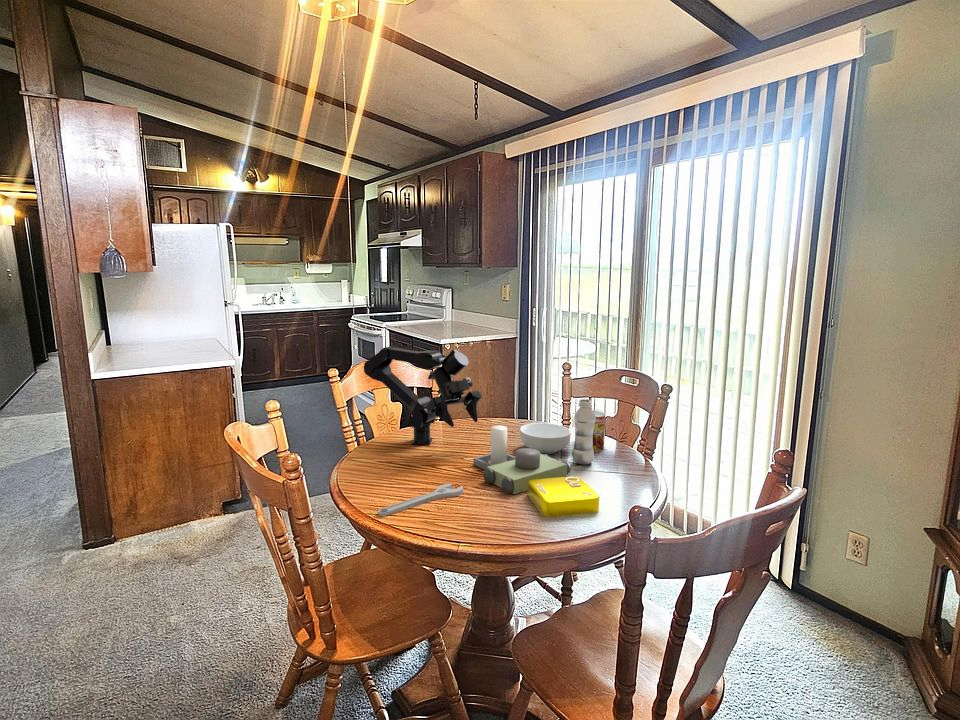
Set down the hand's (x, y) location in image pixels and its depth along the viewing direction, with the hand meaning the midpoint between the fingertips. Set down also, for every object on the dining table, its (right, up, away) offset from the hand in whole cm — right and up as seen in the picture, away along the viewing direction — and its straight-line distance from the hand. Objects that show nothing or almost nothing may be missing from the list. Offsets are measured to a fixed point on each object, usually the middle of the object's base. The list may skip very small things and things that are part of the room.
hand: (465, 424), depth 172 cm
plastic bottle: (+37, -12, -3) cm, 39 cm away
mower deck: (+15, -13, -11) cm, 22 cm away
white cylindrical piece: (+10, -12, -6) cm, 17 cm away
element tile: (+26, -17, -31) cm, 44 cm away
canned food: (+42, -10, +11) cm, 45 cm away
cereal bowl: (+26, -10, +9) cm, 30 cm away
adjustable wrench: (-11, -17, -31) cm, 37 cm away
